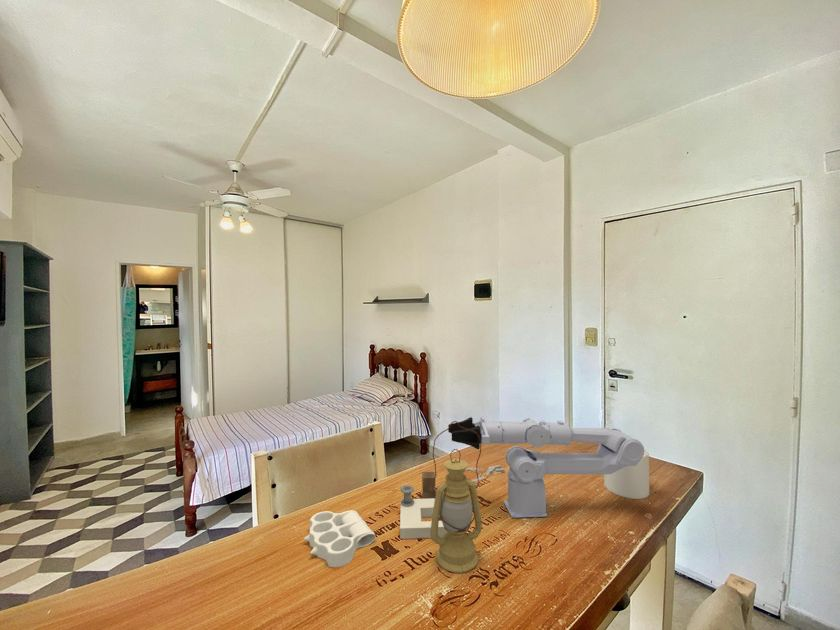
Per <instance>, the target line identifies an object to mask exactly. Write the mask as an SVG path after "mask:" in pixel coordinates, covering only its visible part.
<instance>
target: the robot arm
mask: <svg viewBox="0 0 840 630" xmlns="http://www.w3.org/2000/svg"><path fill="white" fill-rule="evenodd" d="M457 422H458V423H457ZM457 422H453V423H452V422H451V423H452V425H451V423H449V424H448V427H447V429H448V428H449V427H450V425H451V427H450V428H449V429H448V430H447V431H448V433H449V434H451V441H452V442H456V443H459V444H463V445H467V446H470V447H472V448H474V449H476V450H480V439H481V446H483V445H490V444H493V445H494V444H495V445H496V444H499V445H500V444H504V445H505V444H506V445H507V444H509V445H510V444H514V445H515V444H528V445H530V446H532V447H534V448H535V447H536V448H541V447H543V446H545V445H555V446H557V445H558V446H569V445H570V444H571V443H572V442H581V443H589V444H590V443H591V444H599V445H598V447H597V450H596V452H595V453H593V452H591V453H589V452H588V453H587V452H585V453H584V452H583V453H581V452H579V453H578V452H577V453H575V452H573V453H571V452H569V453H567V452H566V453H565V452H552V453H551V452H539V451H536V450H533V449H527V448H526V449H525V448H524V447H521V446H519V445H515V446H512V447H510V448H508V450H507V451H506V453H505V461H506V462H505V463H506V464H507V465H508V466H509V468H508V472H507V499H504V500H503V504H504V506H505V508H506V509H507V511H508V513H509V515H510V516H511V518H513V519H514V518H515V519H519V518H539V517H540V518H541V517H542V518H545V517H547V516H548V514H547V500H546V499H547V494H546V486H545V485H546V484H545V481H544V477H545V475H604V474H612V473H614V472H616V471H618V470H620V469H622V468H625V467H627V466H636V465H637V464H638V463H639V461H640V460H641V459H642V457H643V455H644V449H645V447H644V445H643V444H642V442H641V441H639V440H638V439H635V438H633V437H631V436H629V435H627V434H625V433H624V432H622V431H621V430H620V429H618V428H614V427H612V428H610V427H605V426H604V427H570V426H569V424H568V423H566V422H564V420H563V421H562V420H557V421H556V422H550V421H549V422H547V421H545V420H544V419H543V420H542V419H541V420H540V422H539V421H538V422H537V421H536V420H535V419H530V418H525V419H523V420H522V421H493V420H492V421H489V420H487V421H485V417H484V416H480V420H479V421H473V417H472V416H470V417H468V418H466V419H464V420H461V421H457ZM458 424H459V425H460V426H461V427H463V428H466V429H463V428H461V427H459V426H458ZM467 429H470V430H473V431H475V432H476V433H477V434H478V435H479V436H480V439H479V436H478V435H477V434H476V433H474V432H472V431H470V430H467Z"/></svg>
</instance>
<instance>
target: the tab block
mask: <svg viewBox="0 0 840 630" xmlns="http://www.w3.org/2000/svg"><path fill="white" fill-rule="evenodd" d="M421 475H422V477H421V478H422V480H421V482H422V483H421V485H422V487H421V490H422V491H421V494H422V499H430V498H435V494H436V490H437V488H436V480H435V481H434V478H435V471H422V472H421ZM435 479H436V478H435ZM433 481H434V485H433ZM432 486H433V490H434V492H435V494H434V492H433V490H432Z"/></svg>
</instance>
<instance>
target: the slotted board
mask: <svg viewBox="0 0 840 630" xmlns="http://www.w3.org/2000/svg"><path fill="white" fill-rule="evenodd" d="M414 490H415V487H414V486H413V485H409V484H406V485H403V486H401V487H400V492H401V493H403V499H400V512H399V513H400V521H399V540H400V539H401V540H406V539H408V540H409V539H411V540H412V539H432V538H431V522H432V520H428V521H422V518H432V514H433V508H434V502H435V498H430V499H423V498H412V493H413V492H414ZM439 518H441V516H440V515H439ZM446 533H447V531H446V530H445V528H444V526H443V523H442V521H441V520H439V524H438V536H439V537H443V536H444V535H445V534H446Z"/></svg>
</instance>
